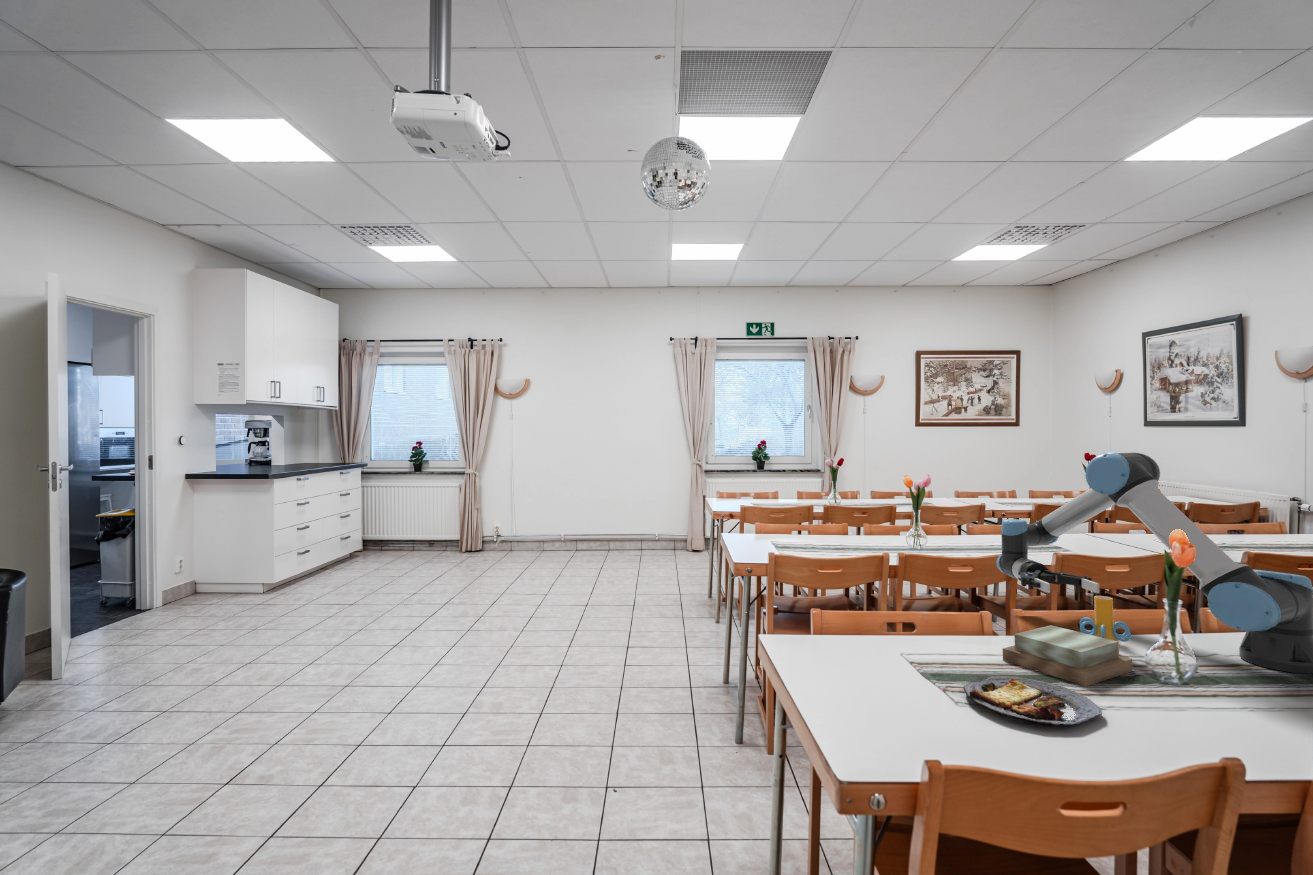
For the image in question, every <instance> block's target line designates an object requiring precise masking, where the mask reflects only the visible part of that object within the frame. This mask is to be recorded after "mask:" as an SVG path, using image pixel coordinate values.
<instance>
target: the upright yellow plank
mask: <svg viewBox="0 0 1313 875" xmlns="http://www.w3.org/2000/svg"><path fill="white" fill-rule="evenodd" d="M1093 602H1094V619H1092V618H1091V617H1083V618H1081V619H1080V621H1079V632H1081V633H1085V634H1089V635H1093V636H1097V637H1101V638H1105V639H1109V640H1114V641H1118V655H1119V656H1120V643H1119V641H1120V642H1124V643H1125V642H1128V641H1130V640H1131V638H1132V633H1131V631H1130V628H1129V626H1128V624H1127V623H1125V622H1124V621H1115V622H1114V599H1113V597H1111V596H1104V595H1094V596H1093ZM1087 625H1091V626H1092V629H1091V630H1088V629H1086V628H1085V626H1087ZM1117 629H1123V630H1124V632H1123V633H1122V634H1120V633H1119V634H1118V633H1117V632H1116V631H1117Z"/></svg>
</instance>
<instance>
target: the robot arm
mask: <svg viewBox="0 0 1313 875" xmlns="http://www.w3.org/2000/svg"><path fill="white" fill-rule="evenodd" d="M1084 475H1085V481H1086V483H1087V485H1088V486H1089V488H1088V489H1087V490H1085V491H1084V492H1082V493H1080V494H1079V495H1078V496H1076V497H1073V499H1071V500H1069V501H1068V502H1066V503H1065V504H1063V505H1062V506H1060V507H1058V508H1057V509H1055V510H1053V511H1052V512H1050V513H1048V514H1047V515H1045V516H1043V517H1042V518H1041V519H1038V520H1037V521H1035V522H1034V523H1028V522H1027V521H1026V520H1025V519H1017V518H1006V519H1004V520H1002V522H1001V531H1000V532H1001V554H999V555H998V557H997V559H996V561H995V562H996V563H995V564H996V567H997V569H998V570H999V571H1000V572H1001V573H1002V574H1004V575H1006V576H1007V577H1008V576H1009V577H1010V578H1013V579H1016V580H1018V581H1020V585H1021V586H1022V587H1027V586H1028V589H1029V590H1034V588H1035V589H1037V590H1039V591H1042V592H1044V593H1045V594H1046V593H1047V594H1050V593H1051V584H1052V585H1058V586H1059V585H1062V584H1063V585H1067V586H1068V585H1070V586H1075V587H1080V588H1082V589H1083V590H1087V591H1090V592H1092V593H1094V594H1100V583H1098V582H1095V581H1093V578H1092V577H1088V576H1087V575H1084V576H1082V575H1076V574H1070V573H1066V572H1063V571H1059V572H1056V571H1052V570H1049V568H1048V567H1047V566H1046V565H1045V564H1043V563H1041V562H1038V561H1036V560H1032V559H1029V557H1028V554H1029V552H1028V549H1029V548H1028V547H1035V546H1036V547H1038V546H1048V545H1050V544H1054V543H1056V542H1057V541H1058V540H1059V537H1060V536H1062V535H1065V533H1067V532H1069V531H1071V530H1073V529H1075V528H1077V527H1078V526H1080V525H1081V524H1083V523H1085V522H1086V521H1089V520H1090V519H1092V518H1093V517H1096V516H1097V515H1099V514H1100V513H1102V512H1104V511H1106V510H1108V509H1109V508H1111V507H1113V506H1115V505H1116V506H1117V507H1121V508H1128V510H1130V511H1131V513H1132V514H1133V515H1135V517H1137V518H1138V520H1139V521H1140V522H1141V523H1142V524H1144V526H1146V527H1147V529H1148V530H1149V531H1150V532H1151V533H1152V534H1153V535H1154V536H1155V537H1156V538H1157V539H1158V540H1159V541H1160V542H1161V543H1162V544H1163V545H1164V546H1165V547H1166V548H1167V549H1168V551H1170V544H1169V535H1170V533H1171V532H1172V531H1173V530H1175V529H1181V530H1183V531H1184V532H1185V533H1186V535H1187V537H1188V539H1189V542H1190V544H1192V545H1193V546H1194V547H1195V548H1196V556H1195V560H1194V562H1193V563H1192V564H1191V565H1189V566H1188V567H1186V568H1187V569H1188V571H1190V572H1191V573H1192V574H1193V576H1194V577H1196V578H1197V579H1198V580H1199V587H1198V588H1199V589H1198V590H1200V592H1201V593H1202V594H1204V596H1205V597H1206V598H1207V599H1206V600H1207V602H1208V603H1207V607H1208V609H1209V611H1210V612H1211V614H1212V615H1213V617H1215V618H1216V620H1218V621H1219V622H1221V623H1222V624H1223V625H1225V626H1227V627H1229V628H1231V629H1235V630H1237V631H1242V632H1243V631H1244V632H1245V634H1244V637H1243V638H1242V640H1241V643H1240V645H1239V648H1238V649H1239V651H1238V652H1239V655H1238V656H1239V658H1240V657H1241V658H1240V659H1241V660H1243V659H1244V660H1243V661H1245V662H1247V661H1248V663H1250V664H1252V663H1254V664H1253V665H1255V664H1256V665H1257V666H1260V667H1263V668H1268V669H1271V670H1276V671H1282V672H1288V673H1293V674H1294V673H1295V674H1305V675H1313V585H1312V584H1313V582H1312V580H1311V579H1310V578H1309V577H1307V576H1305V575H1301V574H1300V575H1299V574H1294V573H1285V572H1278V571H1272V570H1269V571H1268V570H1261V569H1253V568H1252V567H1250V566H1249V565H1248V564H1244V563H1238V562H1235V561H1234V560H1233V559H1232V558H1231V557H1230V556H1229V555H1228V554H1226V552H1225V551H1223V549H1221V548H1220V547H1219V545H1217V544H1216V543H1215V542H1214V541H1213V540H1212V539H1211V538H1210V537H1208V535H1207V534H1206V533H1204V532H1203V530H1201V529H1200V528H1199V527H1198V526H1197V525H1196V524H1195V523H1194V522H1193V521H1192V520H1191V519H1190V517H1189V518H1188V516H1186V514H1185V513H1183V511H1181V510H1180V509H1179V508H1178V507H1177V506H1176V505H1175V504H1174V503H1173V502H1172V501H1171V500H1170V499H1168V498H1167V496H1165V494H1163V492H1162V491H1160V489H1159V480H1160V477H1161V469H1160V466H1159V465H1158V463H1157V462H1156V460H1155V459H1154V458H1152V457H1151V456H1149V455H1147V454H1145V453H1141V452H1107V453H1103V454H1100V455H1099V454H1098V455H1096V456H1095V457H1093V458H1092V459H1091V460H1090V461H1089V462H1088V464H1087V466H1086V468H1085V474H1084ZM1256 665H1255V666H1256Z"/></svg>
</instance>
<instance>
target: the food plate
mask: <svg viewBox="0 0 1313 875" xmlns="http://www.w3.org/2000/svg"><path fill="white" fill-rule="evenodd" d="M963 691H964V693H965V695H966V697H967V698H969V699H970V700H971V701H972V702H973V703H976V704H979V705H980V706H983V707H984V708H987V709H989V710H992V711H994V712H996V713H998V714H999V715H1001V714H1002V715H1004V716H1008V717H1011V718H1016V719H1020V720H1025V721H1030V722H1033V723H1036V724H1045V725H1046V724H1048V725H1049V726H1051V725H1052V726H1059V725H1060V724H1061V725H1062V724H1063V725H1064V726H1065V727H1066V726H1067V727H1068V726H1072V725H1075V724H1076V725H1080V724H1081V723H1084V722H1088V721H1089V720H1091V719H1094V718H1095V717H1096V716H1098V715H1100V716H1102V715H1103V710H1102V709H1101V706H1098V705H1097V704H1096V703H1095V702H1094V701H1093V700H1091V699H1090V698H1088V697H1087V696H1084V695H1082V694H1081V693H1079V692H1076V691H1075V690H1072V689H1069V688H1067V687H1065V686H1060V685H1056V684H1052V683H1050V682H1046V681H1040V680H1038V679H1037V680H1034V679H1031V678H1025V677H1020V676H1019V677H1018V676H1003V675H1002V676H990V675H988V676H982V677H978V678H976V679H974V680H971V681H969V682H968V683H967V682H966V683H965V684H964V685H963ZM1034 700H1035V701H1034ZM1032 704H1033V705H1032ZM1066 704H1067V705H1066ZM1064 706H1068V707H1069V706H1070V707H1069V708H1070V709H1072V708H1073V709H1072V710H1073V711H1072V712H1074V713H1075V714H1076V715H1075V714H1074V715H1075V716H1073V717H1074V718H1072V717H1071V716H1072V715H1070V717H1071V718H1072V720H1071V719H1070V720H1066V719H1068V717H1067V718H1063V717H1065V716H1064V715H1065V714H1064V713H1067V711H1063V710H1062V709H1061V708H1064ZM1062 715H1063V716H1062Z"/></svg>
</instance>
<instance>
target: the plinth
mask: <svg viewBox="0 0 1313 875" xmlns="http://www.w3.org/2000/svg"><path fill="white" fill-rule="evenodd" d="M1085 633H1086V632H1085ZM1085 633H1081V632H1080V631H1076V630H1072V629H1068V628H1063V627H1059V626H1057V625H1053V624H1052V625H1046V626H1042V627H1041V626H1040V627H1037V628H1035V629H1029V630H1025V631H1022V632H1018V633H1017V632H1016V633H1014V634H1013V635H1014V645H1010V646H1007V647H1003V648H1002V661H1004V662H1009V663H1011V664H1015V665H1018V666H1021V667H1024V668H1027V669H1030V670H1033V671H1036V672H1039V673H1043V674H1046V675H1049V676H1053V677H1055V678H1059V679H1061V680H1065V681H1068V682H1072V683H1075V684H1076V685H1077V684H1078V685H1079V686H1080V685H1081V686H1084V687H1089V686H1093V685H1095V684H1097V683H1101V682H1104V681H1107V680H1110V679H1113V678H1116V677H1119V676H1121V675H1124V674H1127V673H1128V674H1129V673H1131V672H1133V658H1130V657H1127V656H1123V655H1120V654H1119V655H1118V641H1114V640H1109V639H1105V638H1101V637H1097V636H1093V635H1089V634H1090V633H1086V634H1085Z"/></svg>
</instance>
